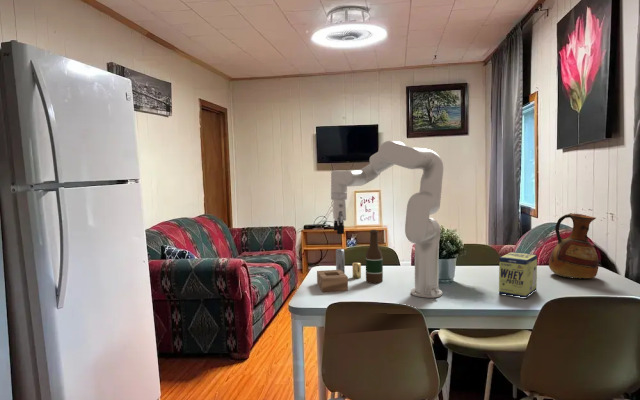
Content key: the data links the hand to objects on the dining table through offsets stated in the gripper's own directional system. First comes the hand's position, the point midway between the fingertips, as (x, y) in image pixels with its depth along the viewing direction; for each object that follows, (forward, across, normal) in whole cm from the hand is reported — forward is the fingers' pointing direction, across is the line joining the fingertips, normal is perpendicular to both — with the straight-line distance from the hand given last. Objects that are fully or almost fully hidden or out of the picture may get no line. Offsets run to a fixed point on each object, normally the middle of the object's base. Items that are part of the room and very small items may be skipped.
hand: (338, 232), depth 204 cm
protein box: (+21, -37, -69) cm, 81 cm away
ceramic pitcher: (+20, -17, -109) cm, 112 cm away
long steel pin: (+22, -1, -1) cm, 22 cm away
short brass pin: (+22, -1, -9) cm, 24 cm away
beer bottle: (+22, -9, -15) cm, 28 cm away
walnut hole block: (+22, -16, +5) cm, 28 cm away
